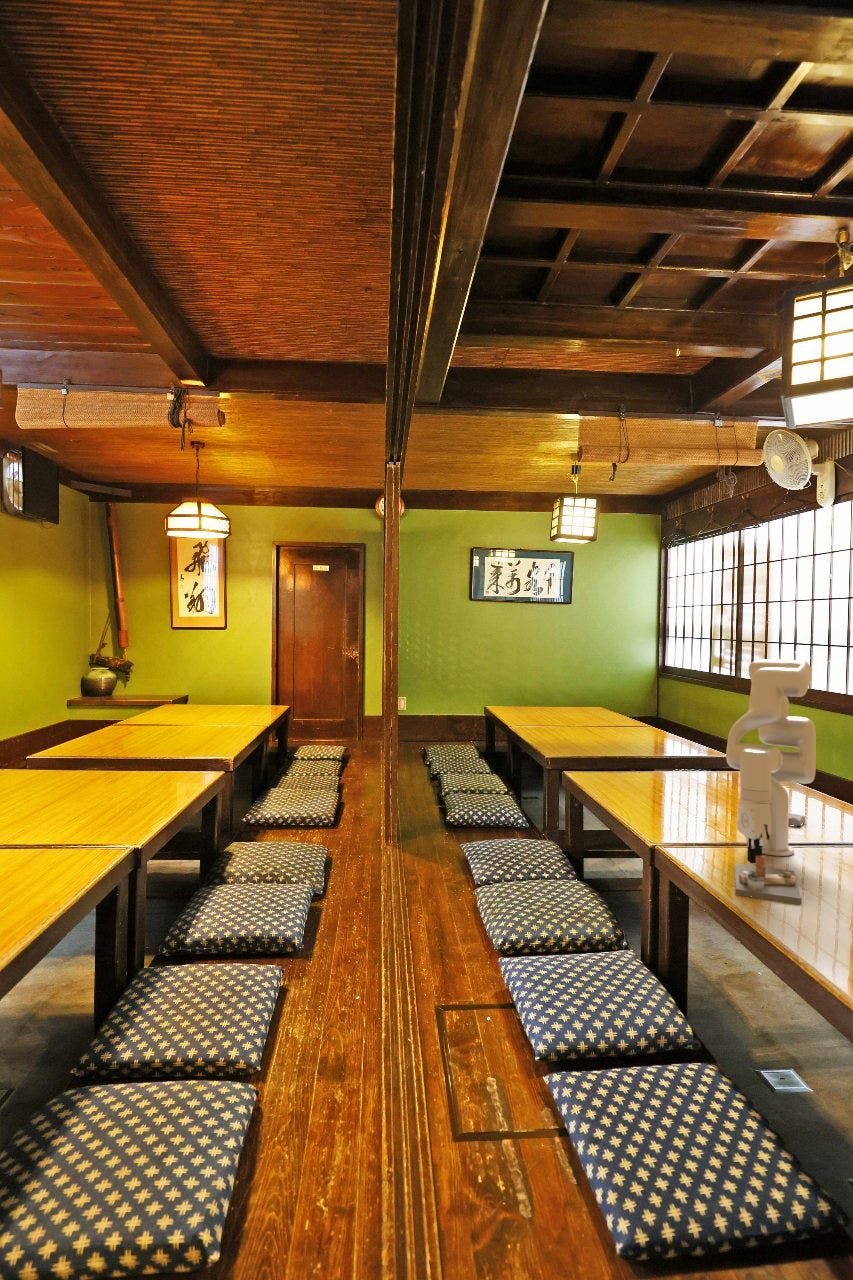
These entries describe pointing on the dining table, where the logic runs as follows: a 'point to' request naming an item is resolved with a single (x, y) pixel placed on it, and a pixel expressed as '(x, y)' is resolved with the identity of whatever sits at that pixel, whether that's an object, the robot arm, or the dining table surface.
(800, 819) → the stone block
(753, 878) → the block
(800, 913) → the dining table surface
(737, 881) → the base board
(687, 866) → the dining table surface
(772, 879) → the ash link
